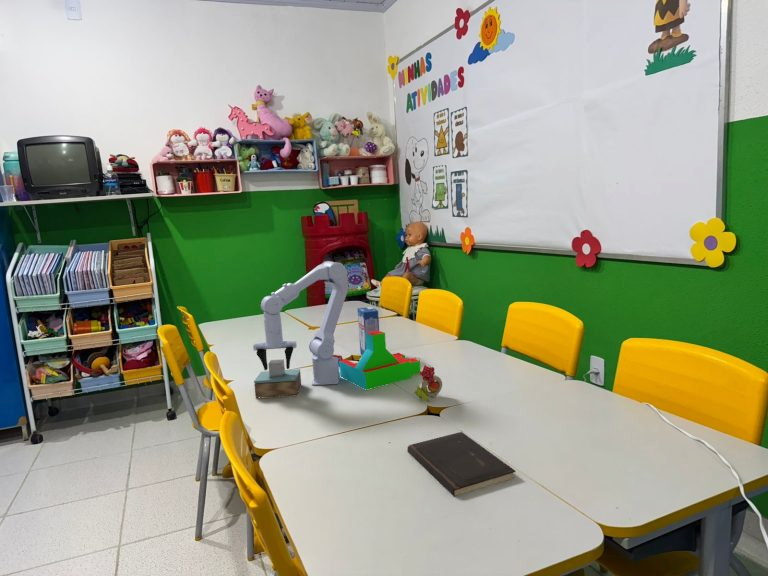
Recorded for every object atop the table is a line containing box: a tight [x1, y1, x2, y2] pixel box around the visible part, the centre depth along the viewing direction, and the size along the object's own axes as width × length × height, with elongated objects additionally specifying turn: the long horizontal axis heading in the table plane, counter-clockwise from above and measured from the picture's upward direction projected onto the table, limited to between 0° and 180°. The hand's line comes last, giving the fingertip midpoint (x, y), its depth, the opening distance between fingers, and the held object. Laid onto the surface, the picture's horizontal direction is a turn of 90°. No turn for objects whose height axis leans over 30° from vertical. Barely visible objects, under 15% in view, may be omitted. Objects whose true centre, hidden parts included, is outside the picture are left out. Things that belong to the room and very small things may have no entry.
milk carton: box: [357, 306, 380, 356], centre depth 214 cm, size 10×6×20 cm, turn 17°
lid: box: [253, 368, 301, 384], centre depth 178 cm, size 14×11×1 cm
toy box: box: [253, 372, 302, 399], centre depth 179 cm, size 14×11×5 cm
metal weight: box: [268, 359, 286, 378], centre depth 177 cm, size 4×4×5 cm
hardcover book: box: [407, 431, 516, 498], centre depth 122 cm, size 16×23×2 cm
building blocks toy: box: [339, 330, 421, 391], centre depth 188 cm, size 19×25×18 cm
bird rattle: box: [413, 365, 443, 402], centre depth 164 cm, size 6×11×9 cm
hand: (277, 368), depth 178 cm, fingers open, 7 cm apart
